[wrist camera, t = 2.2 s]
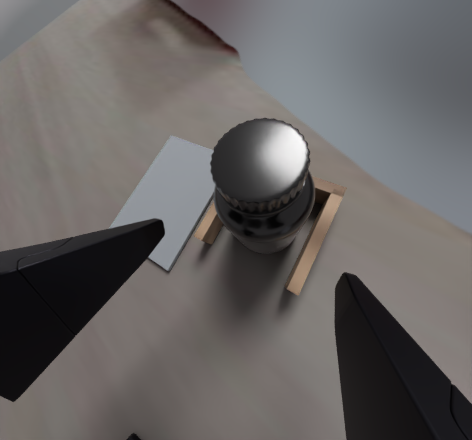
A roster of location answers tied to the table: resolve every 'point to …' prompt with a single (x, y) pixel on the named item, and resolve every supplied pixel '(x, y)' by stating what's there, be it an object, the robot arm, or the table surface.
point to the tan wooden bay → (330, 201)
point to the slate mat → (172, 196)
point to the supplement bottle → (263, 183)
